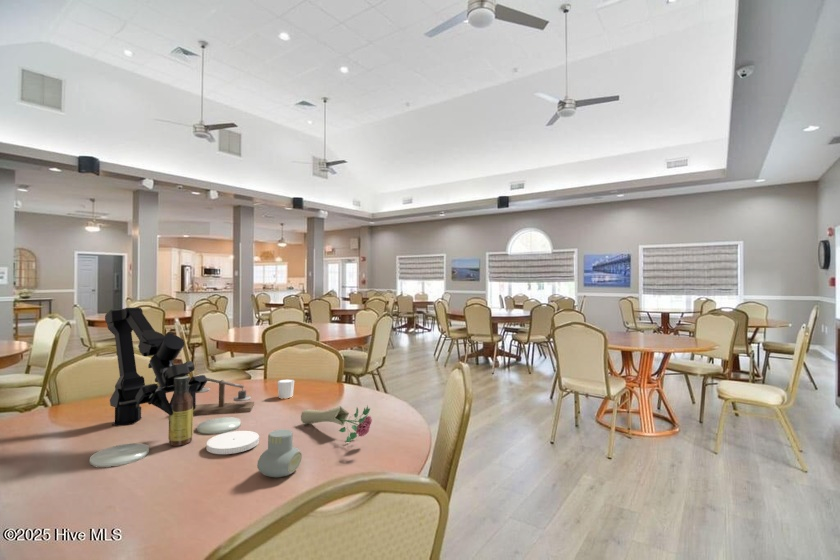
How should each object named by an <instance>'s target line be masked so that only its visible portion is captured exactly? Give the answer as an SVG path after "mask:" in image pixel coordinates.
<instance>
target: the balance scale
mask: <svg viewBox="0 0 840 560" xmlns="http://www.w3.org/2000/svg"><path fill="white" fill-rule="evenodd" d="M206 378H207V380H208V381H207V382H212V383H217V384H219V385H218V403H205V404H203V403H201V404H196V408H195V409H194V410H193V416H195V415H197V416H199V415H216V414H230V413H231V414H232V413H233V414H234V413H235V412H236V413H250V412H249V411H252V410H253V408H254V407H255V401H251V397H252V396H250V395H247V390H246V389H245V390H244V387H245V386H244V385H243V384H239V383H234V382H229V381H225V380H224V379H221V380H219V379H214V378H210V377H209V378H208V377H206ZM225 385H226V386H230V387H235V388H239V389H240V388H241V390H239V391H238V393H237V395H238V396H235V397H233V401H234V402H225V393H226V391H225V388H226V387H225ZM210 391H211V388H210V387H207V386H206V387H205V386H204V387H203V388H202V390H201V391H199V392H196V394H202V393H206V392H210ZM253 406H254V407H253Z"/></svg>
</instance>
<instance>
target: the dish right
mask: <svg viewBox="0 0 840 560" xmlns="http://www.w3.org/2000/svg"><path fill="white" fill-rule="evenodd" d="M241 424H242V421H241V419H240V418H238V417H231V416H225V417H223V416H222V417H215V418H210V419H207V420H204V421H201V422H200V423H198V424H197V427H196V428H197V429H196V430H197V433H199V434H201V435H202V434H203V435H220V434H223V433H227V432H233V431H236V430H237V429H239V428H240V427H241Z"/></svg>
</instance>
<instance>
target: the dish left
mask: <svg viewBox="0 0 840 560" xmlns="http://www.w3.org/2000/svg"><path fill="white" fill-rule="evenodd" d="M149 452H150V446H149V445H148V444H145V443H140V442H139V443H137V442H136V443H124V444H118V445H115V446H114V445H113V446H111V447H106V448H104V449H101V450H99V451H96V452H95V453H93V454H92V455H91V456H90V457H89V465H90V464H91V465H93V466H97V467H96V468H99V467H106V468H112V467H111V466H115V467H118V466H117V465H121V466H124V465H123V464H125V465H128V463H129V464H131V463H135V462H137V461H139V460H142V459H143V458H145V457H147V456H148V454H149ZM91 465H90V466H91ZM93 466H92V467H93Z"/></svg>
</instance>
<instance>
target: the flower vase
mask: <svg viewBox="0 0 840 560" xmlns="http://www.w3.org/2000/svg"><path fill="white" fill-rule="evenodd" d="M370 410H371V408H370V407H369V405H368V404H367V405H366V407H364V408H363V411H362V413H361V415H359V408H358V407H356V409H355V413H354V414H353V415H352V416H350V417H348V416H349V414H350V412H349V411H347V410H346V409H345V408H343V407H342V405H338V406H336V407H333V408H331V409H328V410H316V409H309V408H308V409H304V410H303V411H302V412H301V414H300V421H301V423H302V424H304V423H305V425H308V424H309V425H310V424H317V423H326V422H327V423H334V424H337V425H340V426H344V427H341V428H340V429H339V430H338V432H340V433H345V432H346V431H348V433H349V432H350V433H349V434H348V435H347V437H346V439H345V443H346V442H349V441H350V442H351V441H352V440H354V439H356V438H357V437H360V438H361V437H364V436H366V435H367V434H368V433H369V431H370V428H371V425H372V421H373V418H372V416H371V415H369V413H370ZM363 415H364V416H363ZM353 416H354V419H353V420H351V419H350V418H352V417H353ZM362 416H363V417H362ZM357 422H358V423H357ZM345 423H346V424H348V423H349V424H352V425H351V428H352V430H353V431H354V432H351V431H350V430H349V427H348V426H349V425H347V427H345V425H344V424H345ZM346 429H347V430H346Z"/></svg>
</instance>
